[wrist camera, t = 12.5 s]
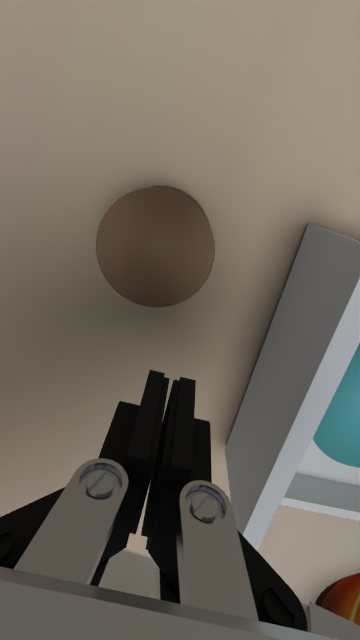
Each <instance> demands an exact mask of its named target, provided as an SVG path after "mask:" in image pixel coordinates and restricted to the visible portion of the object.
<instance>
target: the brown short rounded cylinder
mask: <svg viewBox="0 0 360 640" xmlns="http://www.w3.org/2000/svg"><path fill="white" fill-rule="evenodd" d="M96 251H97V258H98V262H99V265H100V268H101V270H102V272H103V274H104V276H105V278H106V279H107V281H108V282H109V283H110V285H111V286H112V287H113V288H114V289H115V290H116V291H117V292H118V293H119V294H121V295H122V296H123V297H125V298H127V299H128V300H130V301H132V302H135V303H137V304H140V305H144V306H149V307H166V306H171V305H175V304H177V303H180V302H182V301H184V300H186V299H188V298H189V297H191V296H192V295H193V294H195V293H196V292H197V291H198V290H199V289H200V288H201V286H202V285H203V284H204V282H205V281H206V279H207V278H208V276H209V274H210V271H211V268H212V265H213V261H214V252H215V248H214V239H213V234H212V231H211V228H210V225H209V222H208V219H207V217H206V215H205V213H204V211H203V209H202V208H201V206H200V205H199V204H198V203H197V201H196V200H194V199H193V198H192V197H191V196H190V195H188V194H187V193H185V192H183V191H181V190H179V189H176V188H173V187H167V186H155V187H149V188H145V189H141V190H137V191H134V192H131V193H129V194H127V195H125V196H123V197H122V198H120V199H119V200H118V201H116V202H115V203H114V204H113V205H112V206H111V207H110V208H109V210H108V211H107V212H106V214H105V215H104V217H103V219H102V221H101V223H100V226H99V229H98V233H97V240H96Z"/></svg>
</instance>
